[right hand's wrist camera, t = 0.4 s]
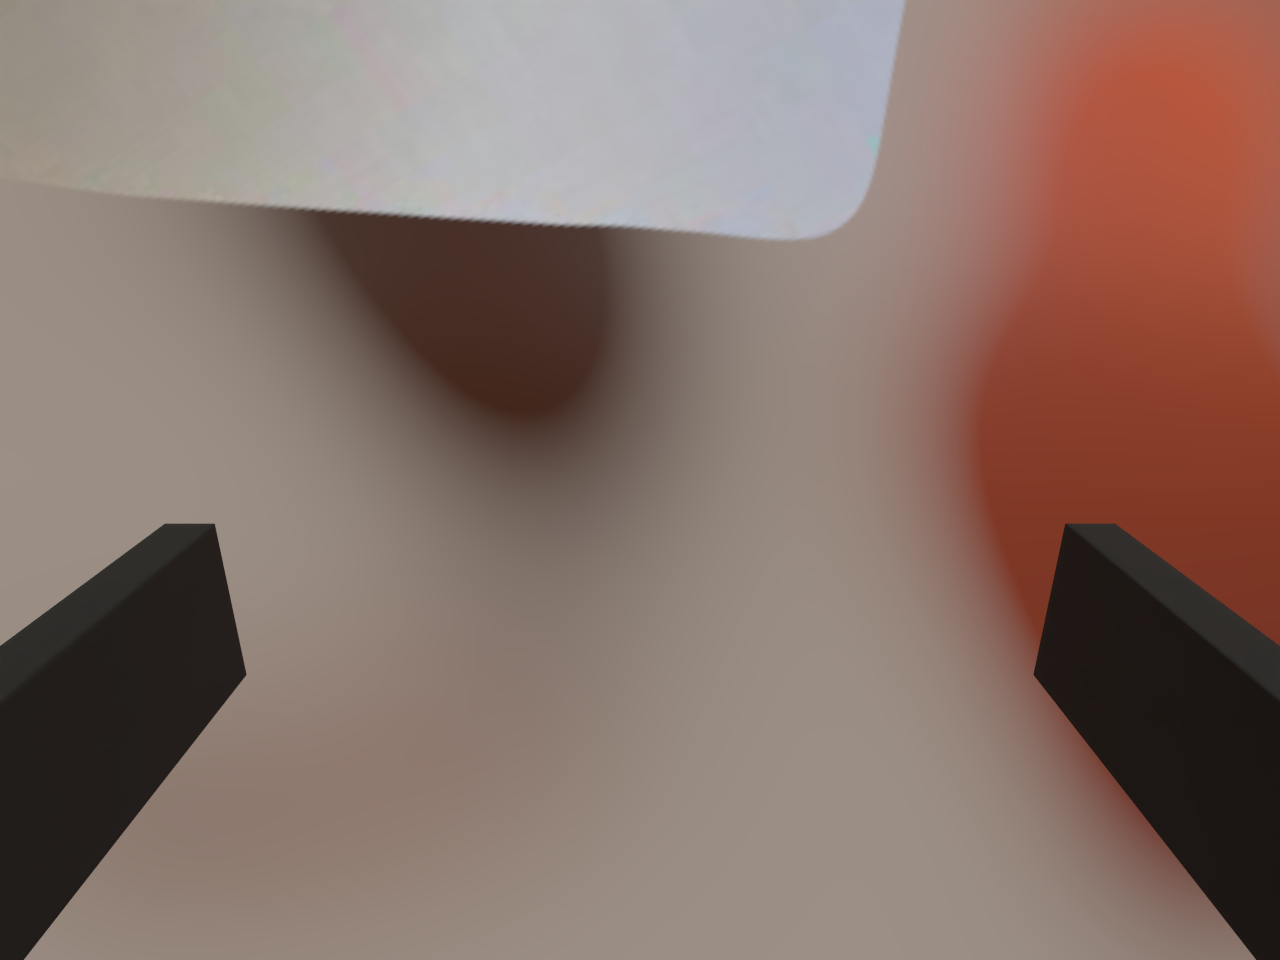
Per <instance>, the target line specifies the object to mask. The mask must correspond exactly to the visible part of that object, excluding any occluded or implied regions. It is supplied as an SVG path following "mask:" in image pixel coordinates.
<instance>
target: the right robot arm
mask: <svg viewBox="0 0 1280 960" xmlns="http://www.w3.org/2000/svg"><path fill="white" fill-rule="evenodd" d="M245 676H246V670H245V666H244V661H243V656H242V652H241V647H240V642H239V637H238V633H237V628H236V623H235V618H234V613H233V609H232V604H231V599H230V594H229V590H228V585H227V580H226V576H225V571H224V566H223V561H222V556H221V552H220V547H219V542H218V537H217V533H216V528H215V524H164V525H163V526H161V527H160V528H159V529H157V530H156V531H155V532H153V533H152V534H151V535H149V536H148V537H147V538H145V539H144V540H142V541H141V542H140V543H138V544H137V545H136V546H134V547H133V548H132V549H130V550H129V551H128V552H126V553H125V554H124V555H122V556H121V557H120V558H118V559H117V560H116V561H114V562H113V563H112V564H110V565H109V566H108V567H106V568H105V569H103V570H102V571H101V572H99V573H98V574H97V575H95V576H94V577H93V578H91V579H90V580H89V581H87V582H86V583H85V584H83V585H82V586H81V587H79V588H78V589H76V590H75V591H74V592H72V593H71V594H70V595H68V596H67V597H66V598H64V599H63V600H62V601H60V602H59V603H58V604H56V605H55V606H54V607H52V608H51V609H50V610H48V611H47V612H45V613H44V614H43V615H41V616H40V617H39V618H37V619H36V620H35V621H33V622H32V623H31V624H29V625H28V626H27V627H25V628H24V629H23V630H21V631H20V632H19V633H17V634H16V635H15V636H13V637H12V638H11V639H9V640H8V641H6V642H5V643H4V644H2V645H1V646H0V960H24V959H25V957H26V956H27V955H28V954H29V952H30V951H31V950H32V948H33V947H34V946H35V945H36V943H37V942H38V941H39V939H40V938H41V937H42V936H43V934H44V933H45V932H46V931H47V929H48V928H49V927H50V925H51V924H52V923H53V922H54V920H55V919H56V918H57V916H58V915H59V914H60V913H61V911H62V910H63V909H64V907H65V906H66V905H67V904H68V902H69V901H70V900H71V899H72V897H73V896H74V895H75V893H76V892H77V891H78V890H79V888H80V887H81V886H82V884H83V883H84V882H85V881H86V879H87V878H88V877H89V875H90V874H91V873H92V872H93V870H94V869H95V868H96V867H97V865H98V864H99V863H100V861H101V860H102V859H103V858H104V856H105V855H106V854H107V852H108V851H109V850H110V849H111V847H112V846H113V845H114V844H115V842H116V841H117V840H118V838H119V837H120V836H121V834H122V833H123V832H124V831H125V829H126V828H127V827H128V826H129V824H130V823H131V822H132V820H133V819H134V818H135V817H136V815H137V814H138V813H139V812H140V810H141V809H142V808H143V806H144V805H145V804H146V803H147V801H148V800H149V799H150V797H151V796H152V795H153V794H154V792H155V791H156V790H157V788H158V787H159V786H160V785H161V783H162V782H163V781H164V780H165V778H166V777H167V776H168V774H169V773H170V772H171V771H172V769H173V768H174V767H175V765H176V764H177V763H178V762H179V760H180V759H181V758H182V756H183V755H184V754H185V753H186V751H187V750H188V749H189V748H190V746H191V745H192V744H193V742H194V741H195V740H196V739H197V737H198V736H199V735H200V733H201V732H202V731H203V730H204V728H205V727H206V726H207V725H208V723H209V722H210V721H211V719H212V718H213V717H214V716H215V714H216V713H217V712H218V710H219V709H220V708H221V707H222V705H223V704H224V703H225V701H226V700H227V699H228V698H229V696H230V695H231V694H232V693H233V691H234V690H235V689H236V687H237V686H238V685H239V684H240V682H241V681H242V680H243V678H244V677H245ZM1034 676H1035V677H1036V678H1037V680H1038V681H1039V682H1040V683H1041V685H1042V686H1043V687H1044V689H1045V690H1046V691H1047V693H1048V694H1049V695H1050V696H1051V698H1052V699H1053V700H1054V701H1055V703H1056V704H1057V705H1058V707H1059V708H1060V709H1061V710H1062V712H1063V713H1064V714H1065V716H1066V717H1067V718H1068V719H1069V721H1070V722H1071V723H1072V725H1073V726H1074V727H1075V728H1076V730H1077V731H1078V732H1079V733H1080V735H1081V736H1082V737H1083V739H1084V740H1085V741H1086V742H1087V744H1088V745H1089V746H1090V748H1091V749H1092V750H1093V751H1094V753H1095V754H1096V755H1097V756H1098V758H1099V759H1100V760H1101V762H1102V763H1103V764H1104V765H1105V767H1106V768H1107V769H1108V771H1109V772H1110V773H1111V774H1112V776H1113V777H1114V778H1115V780H1116V781H1117V782H1118V783H1119V785H1120V786H1121V787H1122V788H1123V790H1124V791H1125V792H1126V794H1127V795H1128V796H1129V797H1130V799H1131V800H1132V801H1133V803H1134V804H1135V805H1136V806H1137V808H1138V809H1139V810H1140V812H1141V813H1142V814H1143V815H1144V817H1145V818H1146V819H1147V820H1148V822H1149V823H1150V824H1151V826H1152V827H1153V828H1154V829H1155V831H1156V832H1157V833H1158V835H1159V836H1160V837H1161V838H1162V840H1163V841H1164V842H1165V844H1166V845H1167V846H1168V847H1169V849H1170V850H1171V851H1172V852H1173V854H1174V855H1175V856H1176V857H1177V859H1178V860H1179V861H1180V863H1181V864H1182V865H1183V867H1184V868H1185V869H1186V870H1187V872H1188V873H1189V874H1190V875H1191V877H1192V878H1193V879H1194V881H1195V882H1196V883H1197V884H1198V886H1199V887H1200V888H1201V890H1202V891H1203V892H1204V893H1205V895H1206V896H1207V897H1208V899H1209V900H1210V901H1211V902H1212V904H1213V905H1214V906H1215V907H1216V909H1217V910H1218V911H1219V913H1220V914H1221V915H1222V916H1223V918H1224V919H1225V920H1226V922H1227V923H1228V924H1229V925H1230V927H1231V928H1232V929H1233V931H1234V932H1235V933H1236V934H1237V936H1238V937H1239V938H1240V939H1241V941H1242V942H1243V943H1244V945H1245V946H1246V947H1247V948H1248V950H1249V951H1250V952H1251V954H1252V955H1253V956H1254V957H1255V959H1256V960H1280V646H1279V645H1278V644H1276V643H1275V642H1274V641H1272V640H1271V639H1270V638H1268V637H1267V636H1265V635H1264V634H1263V633H1261V632H1260V631H1259V630H1257V629H1256V628H1255V627H1253V626H1252V625H1251V624H1249V623H1248V622H1247V621H1245V620H1244V619H1243V618H1241V617H1240V616H1239V615H1237V614H1236V613H1235V612H1233V611H1232V610H1230V609H1229V608H1228V607H1226V606H1225V605H1224V604H1222V603H1221V602H1220V601H1218V600H1217V599H1216V598H1214V597H1213V596H1212V595H1210V594H1209V593H1208V592H1206V591H1205V590H1204V589H1202V588H1201V587H1199V586H1198V585H1197V584H1195V583H1194V582H1193V581H1191V580H1190V579H1189V578H1187V577H1186V576H1185V575H1183V574H1182V573H1181V572H1179V571H1178V570H1177V569H1175V568H1174V567H1173V566H1171V565H1170V564H1168V563H1167V562H1166V561H1164V560H1163V559H1162V558H1160V557H1159V556H1158V555H1156V554H1155V553H1154V552H1152V551H1151V550H1150V549H1148V548H1147V547H1146V546H1144V545H1143V544H1142V543H1140V542H1139V541H1138V540H1136V539H1135V538H1133V537H1132V536H1131V535H1129V534H1128V533H1127V532H1125V531H1124V530H1123V529H1121V528H1120V527H1119V526H1117V525H1116V524H1065V528H1064V533H1063V537H1062V542H1061V547H1060V552H1059V556H1058V561H1057V566H1056V571H1055V575H1054V580H1053V585H1052V590H1051V595H1050V599H1049V604H1048V609H1047V613H1046V618H1045V623H1044V628H1043V632H1042V637H1041V642H1040V647H1039V651H1038V656H1037V661H1036V666H1035V670H1034Z"/></svg>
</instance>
